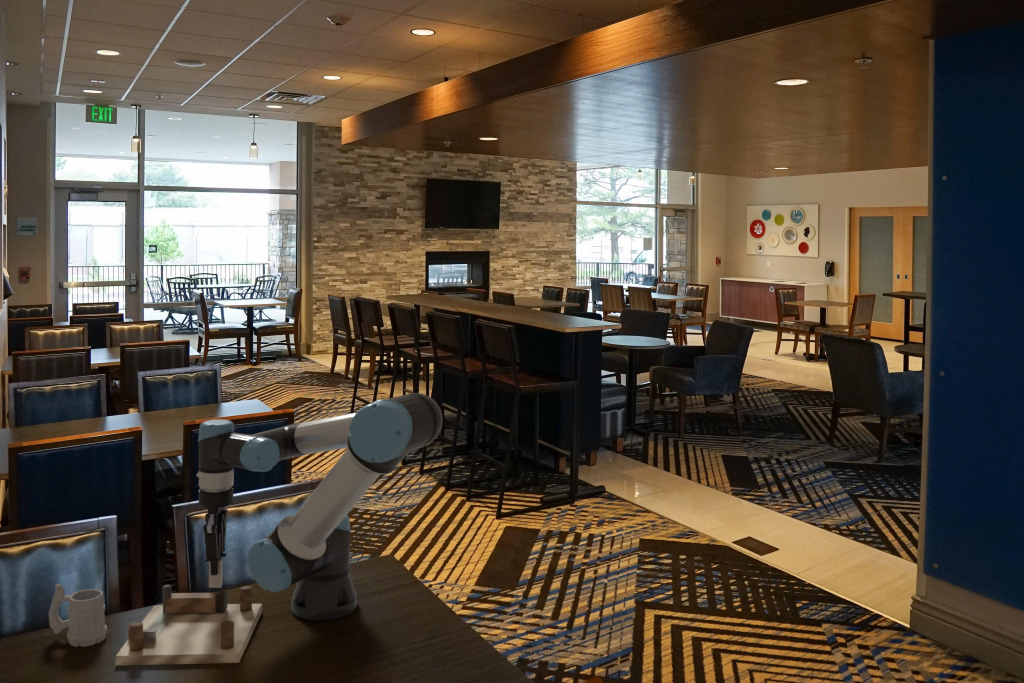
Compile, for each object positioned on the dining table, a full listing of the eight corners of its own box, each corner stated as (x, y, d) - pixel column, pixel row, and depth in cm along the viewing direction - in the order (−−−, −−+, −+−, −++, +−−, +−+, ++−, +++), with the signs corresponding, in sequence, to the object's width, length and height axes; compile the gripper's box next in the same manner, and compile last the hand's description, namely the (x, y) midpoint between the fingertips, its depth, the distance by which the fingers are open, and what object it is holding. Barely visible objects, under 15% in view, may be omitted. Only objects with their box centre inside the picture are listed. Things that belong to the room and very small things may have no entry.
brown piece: (161, 614, 182) (160, 588, 182) (164, 608, 185) (164, 583, 185) (224, 612, 184) (224, 588, 183) (227, 607, 187) (227, 583, 186)
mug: (96, 648, 171) (95, 592, 169) (39, 647, 170) (38, 591, 169) (114, 631, 178) (113, 578, 177) (59, 630, 178) (57, 577, 177)
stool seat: (262, 611, 190) (262, 582, 190) (239, 662, 167) (239, 629, 166) (154, 613, 188) (154, 584, 187) (115, 665, 164) (115, 632, 163)
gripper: (206, 479, 194) (206, 575, 196) (191, 495, 181) (191, 598, 183) (239, 479, 194) (238, 575, 197) (226, 496, 182) (225, 598, 184)
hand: (215, 586), depth 190 cm, fingers closed
